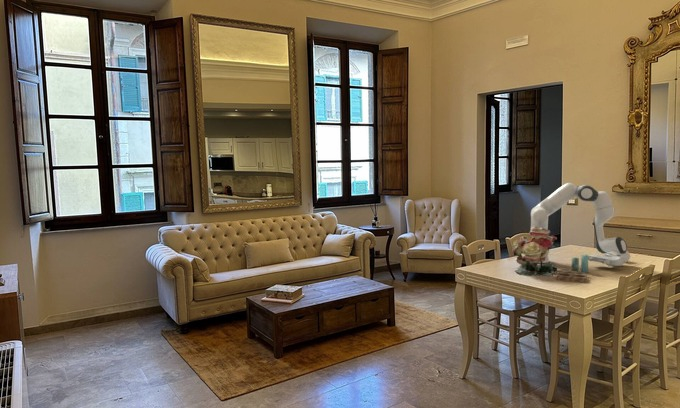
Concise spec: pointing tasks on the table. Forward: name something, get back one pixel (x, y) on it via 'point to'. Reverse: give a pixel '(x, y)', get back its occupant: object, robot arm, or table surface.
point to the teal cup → (574, 267)
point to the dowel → (584, 263)
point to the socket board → (572, 277)
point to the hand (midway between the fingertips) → (596, 261)
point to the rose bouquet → (534, 252)
